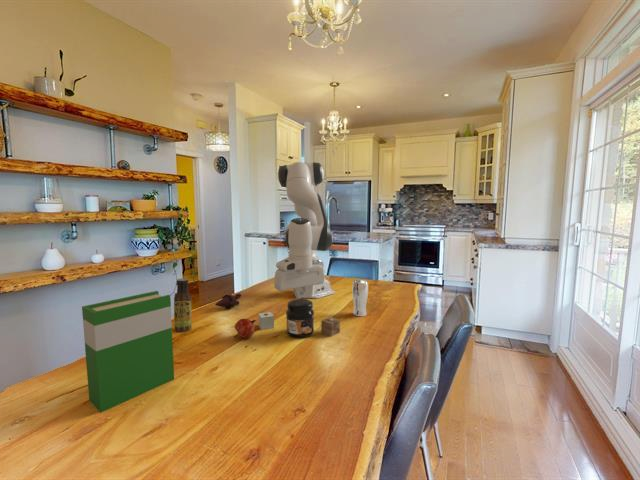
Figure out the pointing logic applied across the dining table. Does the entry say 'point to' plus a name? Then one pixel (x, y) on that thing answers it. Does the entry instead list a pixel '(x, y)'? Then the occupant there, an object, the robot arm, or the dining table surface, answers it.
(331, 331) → the walnut cube
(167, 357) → the hardback book
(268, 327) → the sage cube
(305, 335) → the supplement container
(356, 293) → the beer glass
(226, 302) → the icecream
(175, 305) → the sauce bottle
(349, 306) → the dining table surface
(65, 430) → the dining table surface
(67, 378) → the dining table surface
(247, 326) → the pomegranate
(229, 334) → the dining table surface
